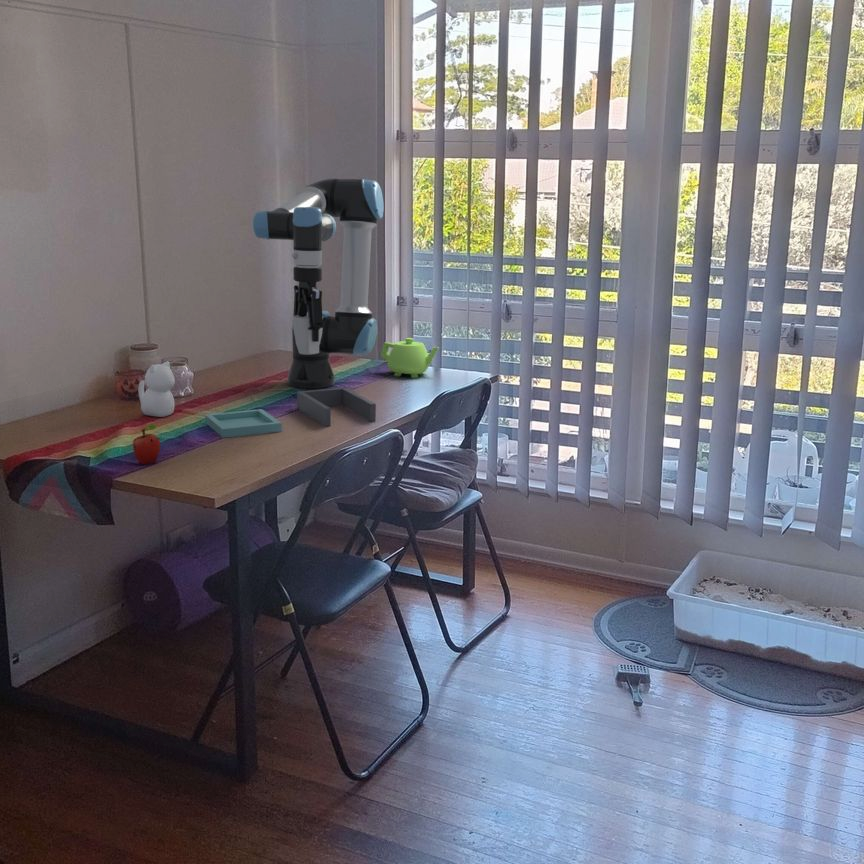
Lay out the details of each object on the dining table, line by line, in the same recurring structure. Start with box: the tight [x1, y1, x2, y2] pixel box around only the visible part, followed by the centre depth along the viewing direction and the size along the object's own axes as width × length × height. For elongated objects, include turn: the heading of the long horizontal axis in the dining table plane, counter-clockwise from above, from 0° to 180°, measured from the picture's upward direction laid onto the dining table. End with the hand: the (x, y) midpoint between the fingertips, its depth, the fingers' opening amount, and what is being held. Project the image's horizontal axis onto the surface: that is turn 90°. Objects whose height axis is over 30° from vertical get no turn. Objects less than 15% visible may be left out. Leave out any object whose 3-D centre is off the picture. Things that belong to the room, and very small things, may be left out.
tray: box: [204, 408, 283, 439], centre depth 259 cm, size 16×16×2 cm
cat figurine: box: [137, 360, 176, 418], centre depth 267 cm, size 9×12×15 cm
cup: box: [292, 314, 322, 355], centre depth 262 cm, size 8×8×10 cm
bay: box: [296, 386, 377, 427], centre depth 274 cm, size 22×15×5 cm
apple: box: [132, 423, 161, 465], centre depth 225 cm, size 8×7×10 cm
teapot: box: [380, 337, 440, 379], centre depth 327 cm, size 20×13×13 cm
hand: (307, 350), depth 264 cm, fingers closed on cup, 8 cm apart
